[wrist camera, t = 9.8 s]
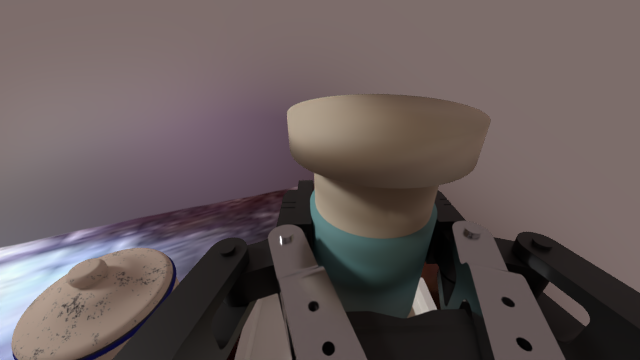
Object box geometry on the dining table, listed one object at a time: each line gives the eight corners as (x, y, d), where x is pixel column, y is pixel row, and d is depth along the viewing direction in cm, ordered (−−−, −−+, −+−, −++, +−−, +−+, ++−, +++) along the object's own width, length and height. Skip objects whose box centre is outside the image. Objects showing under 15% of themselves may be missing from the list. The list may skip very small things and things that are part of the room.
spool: (302, 393, 11) (272, 142, 5) (307, 280, 16) (294, 95, 10) (433, 389, 11) (555, 137, 5) (395, 278, 16) (432, 92, 10)
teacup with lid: (223, 336, 23) (188, 248, 17) (113, 460, 16) (-5, 383, 10) (155, 282, 28) (112, 202, 22) (52, 358, 21) (-48, 270, 16)
